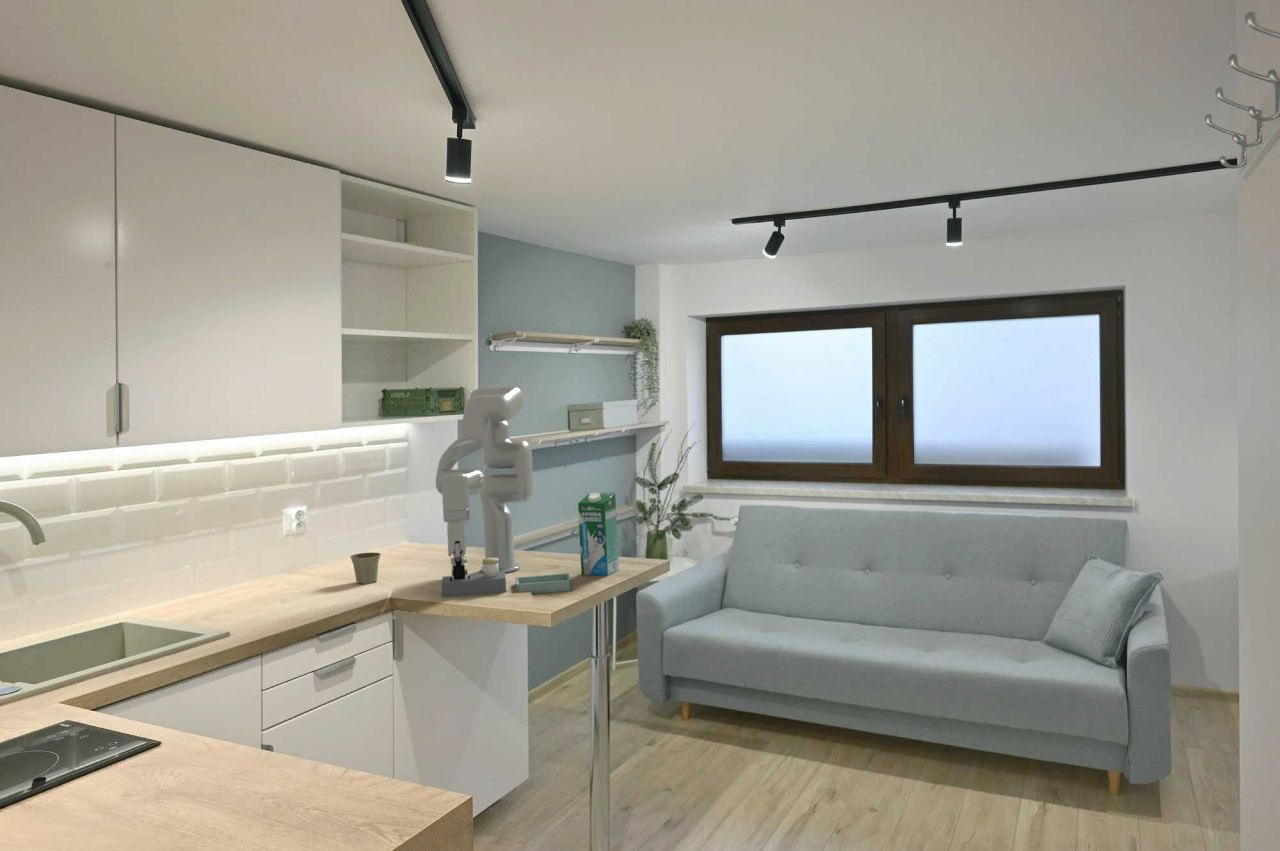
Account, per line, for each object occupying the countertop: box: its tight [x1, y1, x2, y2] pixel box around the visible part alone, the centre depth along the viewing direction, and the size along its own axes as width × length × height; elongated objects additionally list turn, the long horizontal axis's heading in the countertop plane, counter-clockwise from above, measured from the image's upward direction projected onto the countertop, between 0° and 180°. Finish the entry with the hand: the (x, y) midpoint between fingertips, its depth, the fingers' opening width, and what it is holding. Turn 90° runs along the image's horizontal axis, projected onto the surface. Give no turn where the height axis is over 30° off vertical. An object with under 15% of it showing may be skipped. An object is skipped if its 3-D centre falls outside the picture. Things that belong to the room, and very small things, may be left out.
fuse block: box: [441, 557, 507, 598], centre depth 258 cm, size 9×18×10 cm, turn 100°
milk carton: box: [577, 492, 619, 577], centre depth 281 cm, size 9×9×25 cm
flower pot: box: [349, 552, 382, 585], centre depth 281 cm, size 9×9×9 cm
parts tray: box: [514, 573, 573, 595], centre depth 261 cm, size 10×16×3 cm, turn 100°
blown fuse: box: [450, 556, 469, 581], centre depth 257 cm, size 5×5×10 cm
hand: (459, 576), depth 257 cm, fingers open, 6 cm apart
